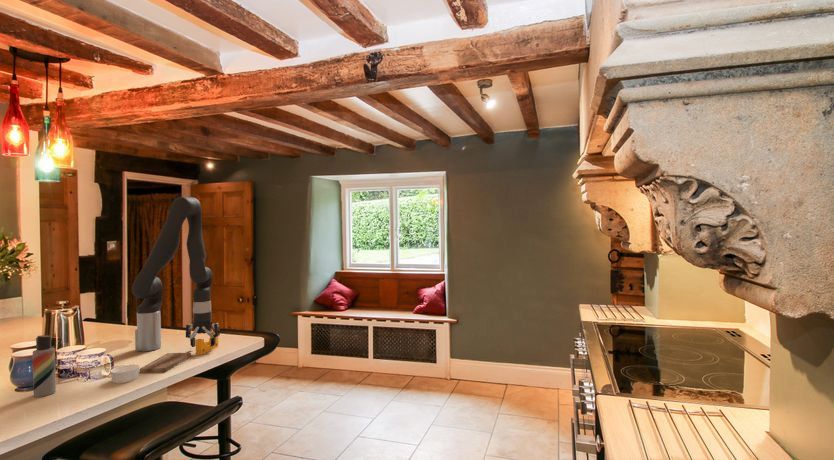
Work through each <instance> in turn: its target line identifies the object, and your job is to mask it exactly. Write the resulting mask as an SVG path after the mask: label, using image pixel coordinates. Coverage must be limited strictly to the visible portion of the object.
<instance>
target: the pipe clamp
mask: <svg viewBox="0 0 834 460" xmlns="http://www.w3.org/2000/svg"><path fill="white" fill-rule="evenodd" d="M217 348H219V336H217V337H216V344H215V345H214V346H211V337H210V336H209V340H208V339H207V340H206V341H205V339H204V338H196V339H195V355H203V354H205V353H208V352H211V351H212V350H214V349H217Z"/></svg>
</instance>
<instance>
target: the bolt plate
mask: <svg viewBox="0 0 834 460" xmlns="http://www.w3.org/2000/svg"><path fill="white" fill-rule="evenodd" d="M191 357H192V352H168V353H166V354H163V355H162V356H160V357H158V358H156V359H154V360H153V361H151V362H149V363H147V364H146V365H144V366H142V367H139V373H140V374H141V373H142V374H146V373H166V372H169V371H170V370H172V369H173V368H175V367H176V366H177V365H179V363H180V364H181V363H182V362H184V361H186V360H187V359H189V358H191ZM174 366H175V367H174ZM171 368H172V369H171ZM168 370H169V371H168Z"/></svg>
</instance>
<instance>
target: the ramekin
mask: <svg viewBox="0 0 834 460" xmlns="http://www.w3.org/2000/svg"><path fill="white" fill-rule="evenodd" d="M139 369H140V365H139V364H134V363H133V364H126V365H121V366H116V367H114V368H112V369H111V370H110V374H111V375H110V376H111V381H112V383H113V384H126V383H130V382H133V381H135V380H137V379H138V378H139V373H140V371H139Z"/></svg>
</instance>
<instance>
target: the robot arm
mask: <svg viewBox="0 0 834 460" xmlns="http://www.w3.org/2000/svg"><path fill="white" fill-rule="evenodd" d="M202 218H203V217H202V206H201V202H200V201H199V200H198V198H196V197H193V196H179V197H176V198H175V199H174V200H173V202H172V203H171V205H170V208H169V210H168V213H167V216H166V219H165V222H164V224H163V225H162V228H161V230H160V232H159V235H158V237H157V239H156V240H155V243H154V244H153V246H152V249H151V251H150V253H149V255H148V257H147V259H146V261H145V263H144V265H143V266H142V268H141V270H140V271H139V273H138V275H137V276H136V277H135V279H134V281H133V283H132V286H131V293H132V295H133V296H134V297H135V298H137V299H143V300H142V302H141V303H140V304H138V306H137V307H136V329H135V330H134V343H135V347H134V348H135V351H136V352H137V351H138V352H150V351H154V350H156V351H157V350H159V349H161V348H162V329H161V328H162V324H161V323H162V320H161V307H162V305H163V292H164V291H163V290H164V288H163V282H162V280H161V279H160V277H158V276H157V275H158V274H159V273H160V272H161V271H162V270H163V269H164V268H165V267H166V265H168V264H169V262H171V261H172V260H173V258H174V257H175V255H176V253H177V251H178V249H179V247H180V243H181V237H180V232H181V229H182V225H183V224H184V222H185V220H187V223H188V224H187V225H188V234H187V238H186V250H187V255H188V259H189V278H190V279H191V280H192V282H193V283H195V284H196V287H195V288H194V290H193V293H192V295H193V300H192V301H193V303H192V322H193V324H192V323H188V324H186V325H185V338H186V339H189V340H190V341H189V342H190V346H191V347H192V348H196V338H195V337H196V335H200V334H201V335H202V334H205V335H206V334H207V335H208V336H209V338H210V337H211V346H214V345H215V344H216V337H217V336H218V337H219V336H220V335H221V332H220V323H219V322H216V323H213V322H212V321H213V320H212V319H213V317H212V316H213V315H212V314H213V313H212V312H213V311H212V301H211V300H212V299H211V288H212V283H213V271H212V269H211V268H209V267H208V266H206V263H205V262H206V260H207V253H206V247H205V242H204V236H203V220H202ZM192 328H193V331H192ZM212 328H213V329H214V330H213V329H212Z"/></svg>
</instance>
